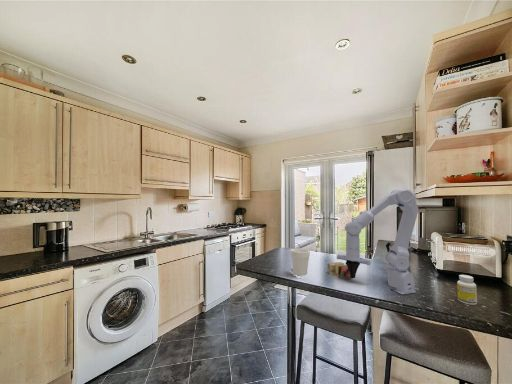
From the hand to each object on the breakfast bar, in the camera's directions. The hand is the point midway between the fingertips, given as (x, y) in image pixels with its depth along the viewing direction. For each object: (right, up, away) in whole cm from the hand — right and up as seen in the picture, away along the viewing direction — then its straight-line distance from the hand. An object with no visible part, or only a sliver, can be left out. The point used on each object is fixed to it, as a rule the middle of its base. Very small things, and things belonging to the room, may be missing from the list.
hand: (352, 277), depth 101 cm
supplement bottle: (+37, -3, -16) cm, 41 cm away
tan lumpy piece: (-3, -2, +8) cm, 9 cm away
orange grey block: (-2, -1, +7) cm, 8 cm away
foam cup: (-22, -4, +11) cm, 25 cm away
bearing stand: (-3, -4, +8) cm, 10 cm away
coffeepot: (+32, -4, +16) cm, 36 cm away
